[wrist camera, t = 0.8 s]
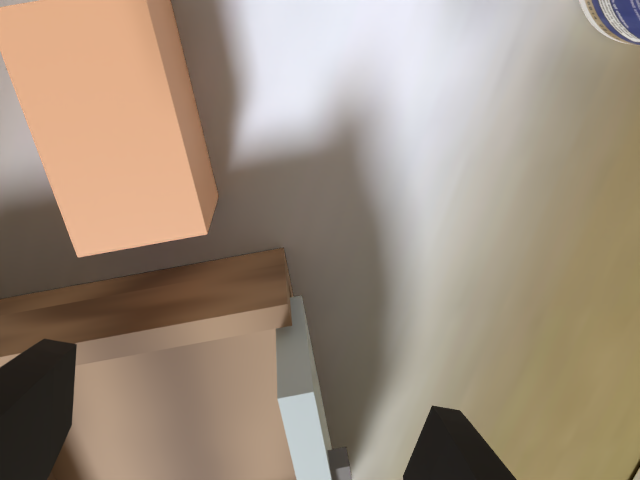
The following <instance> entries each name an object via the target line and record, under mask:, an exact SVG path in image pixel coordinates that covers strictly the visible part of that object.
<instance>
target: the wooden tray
mask: <svg viewBox="0 0 640 480" xmlns="http://www.w3.org/2000/svg"><path fill="white" fill-rule="evenodd" d="M290 297H294V296H293V291H292V286H291V281H290V276H289V271H288V266H287V261H286V256H285V251H284V248H279V249H273V250H268V251H262V252H257V253H251V254H246V255H240V256H235V257H229V258H224V259H218V260H213V261H207V262H202V263H196V264H191V265H185V266H180V267H174V268H169V269H163V270H158V271H152V272H147V273H141V274H136V275H130V276H125V277H119V278H114V279H108V280H103V281H97V282H92V283H86V284H81V285H75V286H70V287H64V288H59V289H53V290H48V291H42V292H37V293H31V294H26V295H20V296H15V297H9V298H4V299H0V367H1V366H3V365H4V364H6V363H7V362H9V361H10V360H12V359H13V358H15V357H16V356H18V355H19V354H21V353H22V352H24V351H25V350H27V349H28V348H30V347H31V346H33V345H35V344H36V343H38V342H39V341H41V340H43V339H50V340H55V341H61V342H67V343H73V344H77V349H76V366H75V382H74V399H73V415H72V426H71V428H70V430H69V432H68V435H67V437H66V439H65V442H64V444H63V446H62V449H61V451H60V453H59V455H58V458H57V460H56V462H55V464H54V466H53V468H52V471H51V473H50V475H49V477H48V478H47V480H297V479H296V475H295V471H294V466H293V462H292V458H291V454H290V450H289V445H288V441H287V437H286V433H285V428H284V424H283V420H282V416H281V412H280V407H279V403H278V399H277V360H276V329H277V328H282V327H287V326H292V317H291V304H290Z"/></svg>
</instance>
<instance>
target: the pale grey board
mask: <svg viewBox="0 0 640 480" xmlns="http://www.w3.org/2000/svg"><path fill="white" fill-rule="evenodd" d="M290 304H291V317H292V326H287V327H282V328H277V329H276V360H277V399H278V403H279V407H280V412H281V416H282V420H283V424H284V428H285V433H286V437H287V441H288V445H289V450H290V454H291V458H292V462H293V466H294V471H295V475H296V479H297V480H352V477H351V471H350V466H349V460H348V455H347V449H346V447H342V448H337V449H332V447H331V442H330V437H329V432H328V427H327V422H326V416H325V411H324V406H323V401H322V396H321V391H320V386H319V381H318V376H317V370H316V365H315V360H314V355H313V350H312V345H311V340H310V335H309V329H308V324H307V319H306V314H305V309H304V304H303V299H302V295H301V296H296V297H290Z"/></svg>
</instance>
